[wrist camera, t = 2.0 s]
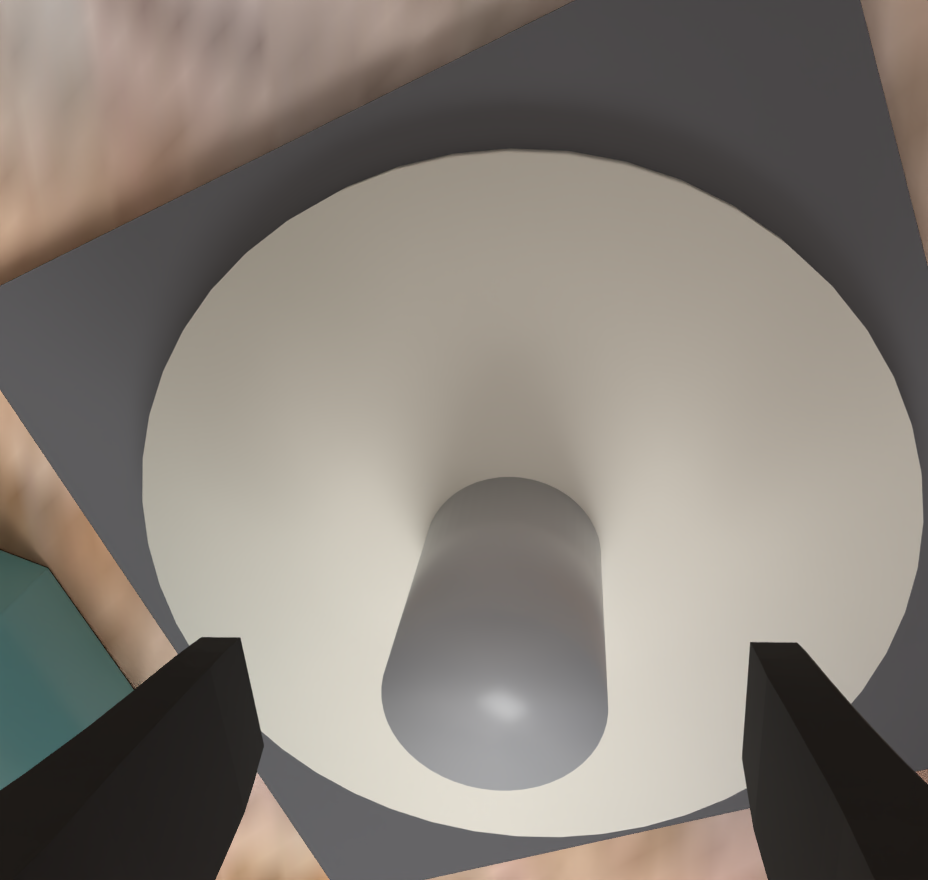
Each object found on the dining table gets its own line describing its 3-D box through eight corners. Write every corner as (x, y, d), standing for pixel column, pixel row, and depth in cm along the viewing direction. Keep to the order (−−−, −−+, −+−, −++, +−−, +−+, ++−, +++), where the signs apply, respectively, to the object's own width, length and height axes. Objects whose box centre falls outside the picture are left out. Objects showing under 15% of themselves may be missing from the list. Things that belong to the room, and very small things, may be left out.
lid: (772, -16, 12) (878, -55, 8) (985, 715, 17) (1125, 944, 13) (20, 342, 16) (-185, 448, 12) (360, 863, 21) (303, 1078, 16)
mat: (818, -119, 12) (828, -125, 12) (1036, 724, 18) (1048, 742, 17) (-35, 304, 17) (-53, 311, 16) (347, 880, 22) (341, 897, 21)
